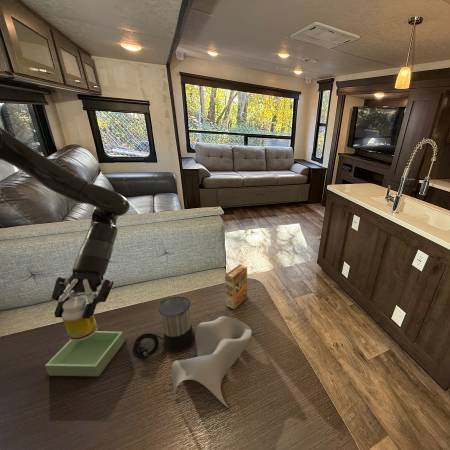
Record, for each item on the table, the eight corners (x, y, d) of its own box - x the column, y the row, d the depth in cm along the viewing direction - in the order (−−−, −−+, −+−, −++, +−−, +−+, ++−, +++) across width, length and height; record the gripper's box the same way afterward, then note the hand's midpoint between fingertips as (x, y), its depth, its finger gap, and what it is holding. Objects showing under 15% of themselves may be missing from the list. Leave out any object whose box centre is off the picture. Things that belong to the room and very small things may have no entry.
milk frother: (200, 336, 85) (197, 302, 79) (159, 374, 71) (151, 336, 66) (171, 321, 90) (166, 287, 84) (127, 353, 77) (117, 317, 71)
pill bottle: (99, 334, 70) (90, 303, 66) (71, 346, 66) (59, 314, 62) (96, 321, 74) (87, 292, 70) (68, 331, 70) (57, 301, 66)
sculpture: (204, 327, 89) (202, 306, 85) (256, 334, 88) (256, 312, 84) (163, 398, 66) (158, 373, 62) (232, 409, 65) (232, 384, 61)
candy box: (234, 309, 98) (233, 277, 92) (225, 306, 99) (224, 274, 94) (247, 297, 105) (247, 266, 99) (239, 293, 107) (239, 263, 101)
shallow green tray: (48, 375, 68) (44, 365, 67) (82, 339, 80) (79, 330, 78) (98, 376, 69) (95, 366, 68) (125, 340, 81) (122, 331, 79)
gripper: (57, 252, 68) (30, 316, 62) (112, 255, 69) (91, 318, 63) (77, 258, 75) (55, 317, 69) (127, 261, 76) (109, 319, 70)
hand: (72, 317), depth 66 cm, fingers closed on pill bottle, 6 cm apart
